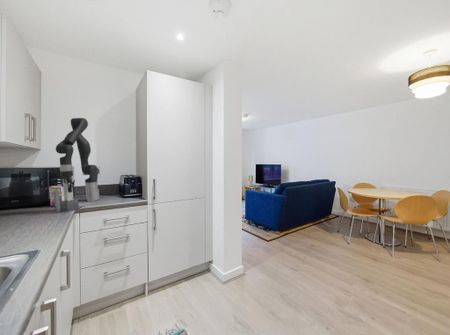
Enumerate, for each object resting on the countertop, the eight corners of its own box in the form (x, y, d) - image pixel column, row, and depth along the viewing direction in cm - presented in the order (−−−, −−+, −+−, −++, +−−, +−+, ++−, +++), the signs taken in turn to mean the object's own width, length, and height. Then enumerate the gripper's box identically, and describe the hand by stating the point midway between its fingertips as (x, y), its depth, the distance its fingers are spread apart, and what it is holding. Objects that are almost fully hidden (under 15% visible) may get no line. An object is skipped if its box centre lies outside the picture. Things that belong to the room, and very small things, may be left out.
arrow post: (62, 210, 149) (60, 190, 148) (64, 211, 148) (62, 190, 147) (55, 212, 145) (53, 191, 144) (57, 212, 144) (55, 191, 143)
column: (71, 201, 156) (69, 181, 154) (74, 201, 154) (72, 181, 153) (63, 202, 151) (62, 182, 149) (67, 203, 149) (65, 182, 148)
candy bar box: (49, 206, 163) (48, 187, 162) (55, 204, 168) (54, 185, 167) (62, 206, 162) (60, 187, 161) (67, 204, 167) (66, 186, 166)
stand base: (73, 206, 162) (72, 198, 161) (84, 207, 157) (84, 199, 157) (53, 211, 149) (52, 202, 148) (65, 212, 144) (64, 203, 143)
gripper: (77, 170, 152) (79, 191, 153) (65, 169, 156) (67, 190, 158) (67, 171, 145) (69, 193, 146) (55, 170, 149) (56, 192, 151)
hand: (68, 192), depth 152 cm, fingers closed on column, 4 cm apart
